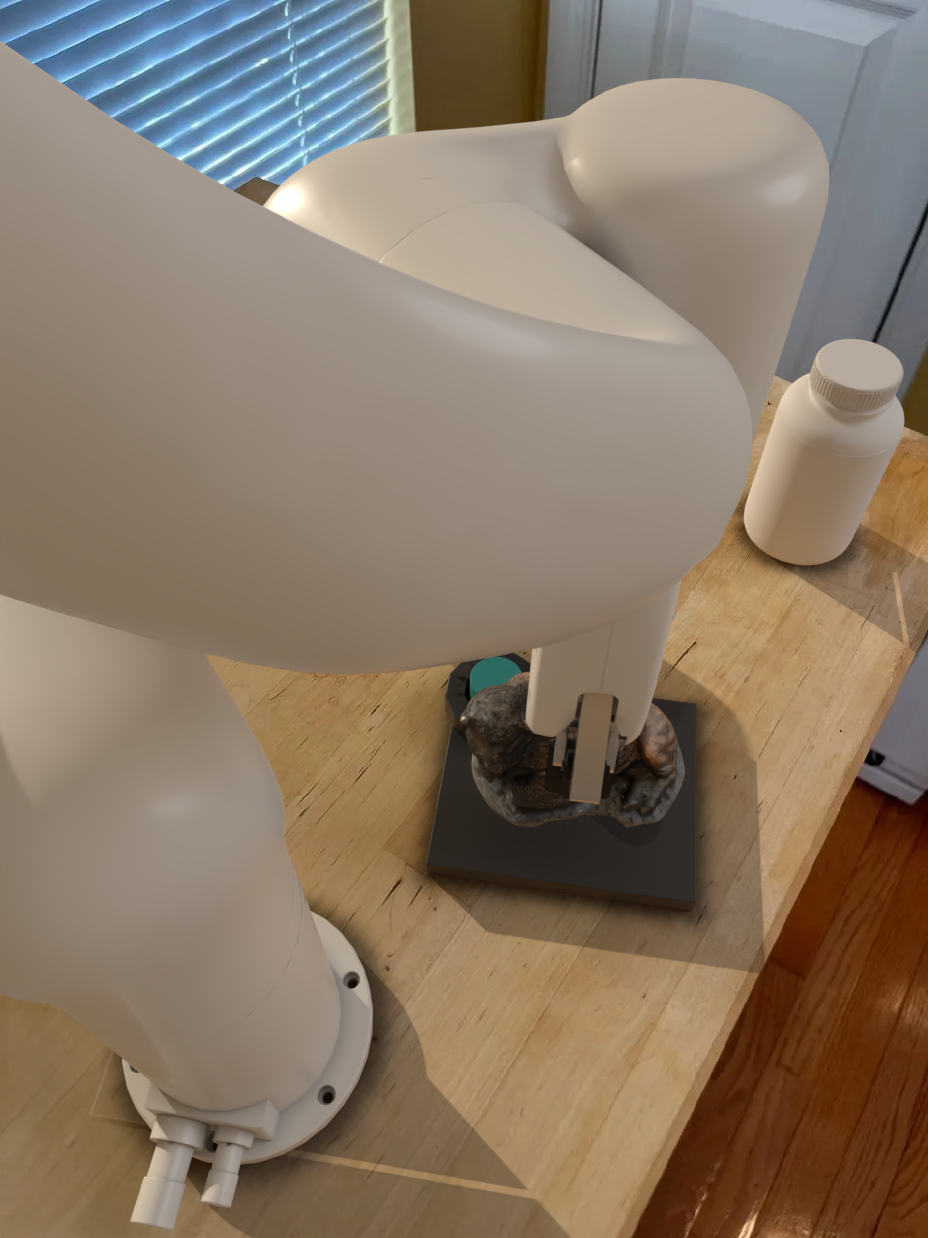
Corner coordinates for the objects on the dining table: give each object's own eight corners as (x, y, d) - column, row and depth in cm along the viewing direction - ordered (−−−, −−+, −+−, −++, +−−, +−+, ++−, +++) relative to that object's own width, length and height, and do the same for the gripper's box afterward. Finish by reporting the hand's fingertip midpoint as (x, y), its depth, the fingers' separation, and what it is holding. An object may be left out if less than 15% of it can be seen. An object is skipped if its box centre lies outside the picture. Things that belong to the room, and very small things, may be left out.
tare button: (518, 719, 57) (519, 703, 55) (466, 712, 57) (466, 697, 56) (524, 676, 59) (525, 659, 57) (473, 669, 59) (474, 653, 58)
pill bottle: (718, 525, 70) (770, 359, 58) (784, 475, 73) (845, 308, 61) (806, 587, 67) (881, 423, 55) (871, 531, 70) (955, 365, 58)
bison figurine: (662, 718, 54) (697, 624, 46) (692, 835, 50) (736, 756, 42) (455, 740, 53) (451, 649, 45) (470, 860, 50) (469, 786, 41)
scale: (691, 912, 52) (702, 892, 50) (417, 872, 54) (414, 851, 51) (692, 701, 61) (701, 675, 58) (455, 671, 62) (454, 645, 60)
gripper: (547, 321, 39) (526, 595, 53) (493, 658, 29) (485, 884, 43) (731, 337, 38) (659, 610, 53) (743, 688, 28) (650, 908, 42)
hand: (581, 731), depth 48 cm, fingers closed on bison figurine, 5 cm apart
